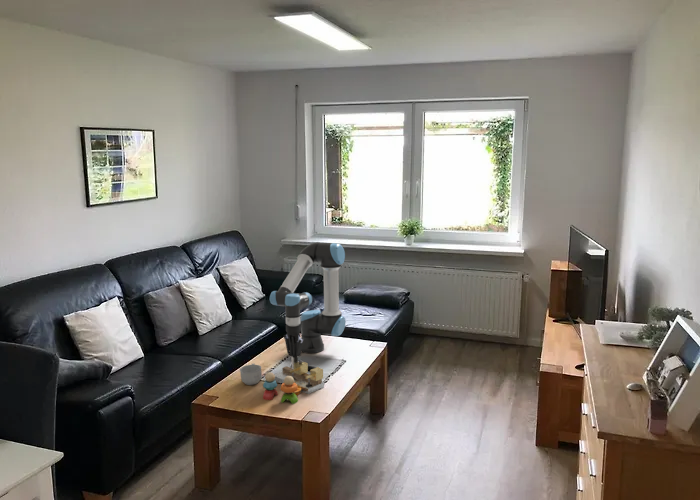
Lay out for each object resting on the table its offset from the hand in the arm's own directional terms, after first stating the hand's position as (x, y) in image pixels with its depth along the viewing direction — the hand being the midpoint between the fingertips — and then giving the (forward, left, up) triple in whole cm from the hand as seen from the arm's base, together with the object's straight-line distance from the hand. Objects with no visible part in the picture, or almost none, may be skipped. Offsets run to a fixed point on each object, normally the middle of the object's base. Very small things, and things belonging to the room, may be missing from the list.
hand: (294, 368), depth 293 cm
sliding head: (+3, +5, -3) cm, 6 cm away
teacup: (+17, -14, -6) cm, 23 cm away
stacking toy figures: (+18, +11, -6) cm, 22 cm away
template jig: (+3, +6, -6) cm, 9 cm away
